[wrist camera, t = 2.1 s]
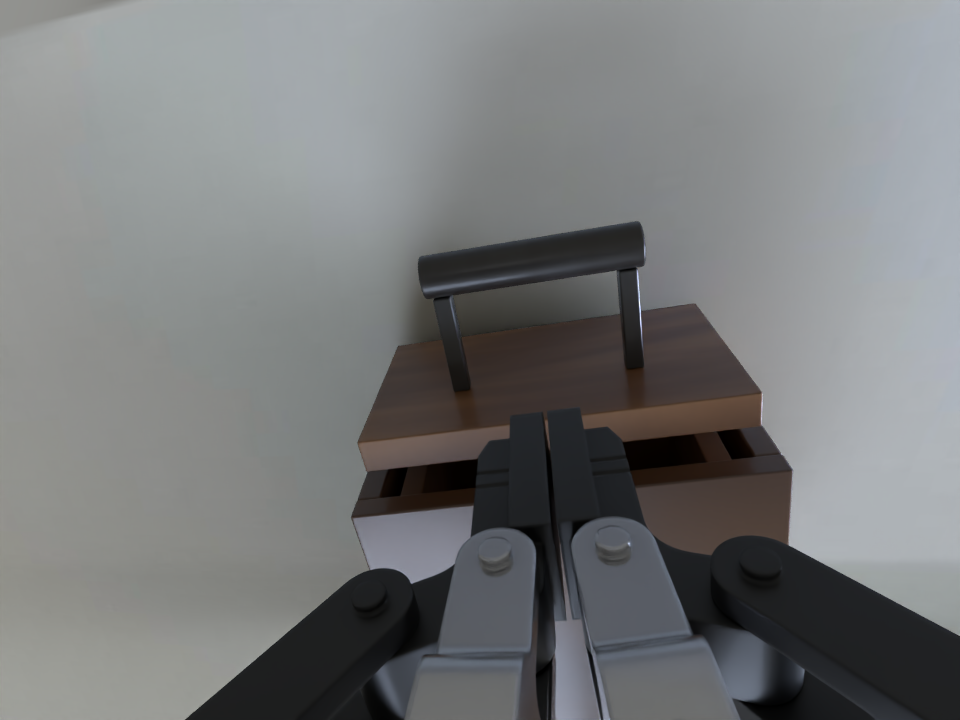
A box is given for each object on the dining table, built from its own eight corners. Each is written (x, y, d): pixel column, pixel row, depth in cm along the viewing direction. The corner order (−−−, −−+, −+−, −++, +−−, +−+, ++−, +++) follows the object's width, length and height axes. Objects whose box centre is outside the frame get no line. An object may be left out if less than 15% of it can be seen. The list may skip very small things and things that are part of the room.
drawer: (368, 234, 23) (310, 301, 17) (692, 179, 22) (768, 228, 15) (461, 587, 32) (447, 723, 25) (701, 566, 30) (752, 706, 24)
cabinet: (400, 381, 27) (349, 517, 19) (705, 340, 26) (794, 470, 17) (464, 617, 34) (447, 793, 26) (708, 597, 32) (774, 778, 24)
